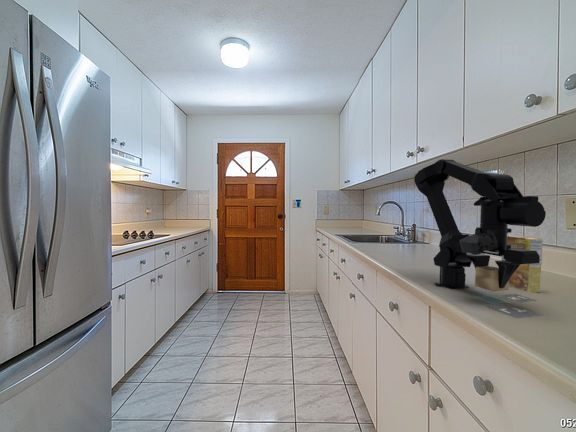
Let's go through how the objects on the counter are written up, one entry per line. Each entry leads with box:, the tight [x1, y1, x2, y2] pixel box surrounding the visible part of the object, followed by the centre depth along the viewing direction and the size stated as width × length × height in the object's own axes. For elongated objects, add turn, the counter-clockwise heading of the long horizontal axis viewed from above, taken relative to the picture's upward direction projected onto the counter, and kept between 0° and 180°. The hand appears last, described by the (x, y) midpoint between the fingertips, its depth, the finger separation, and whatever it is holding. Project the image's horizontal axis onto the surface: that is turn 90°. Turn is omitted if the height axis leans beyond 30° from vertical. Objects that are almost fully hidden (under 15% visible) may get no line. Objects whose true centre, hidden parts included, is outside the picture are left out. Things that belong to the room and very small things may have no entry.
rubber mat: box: [473, 294, 512, 305], centre depth 75 cm, size 6×6×1 cm
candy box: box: [507, 235, 543, 294], centre depth 87 cm, size 9×4×15 cm, turn 6°
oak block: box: [474, 265, 510, 292], centre depth 75 cm, size 5×5×5 cm
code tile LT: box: [483, 303, 544, 319], centre depth 67 cm, size 8×8×1 cm
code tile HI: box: [497, 293, 539, 303], centre depth 77 cm, size 6×6×1 cm
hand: (491, 285), depth 75 cm, fingers closed on oak block, 5 cm apart
